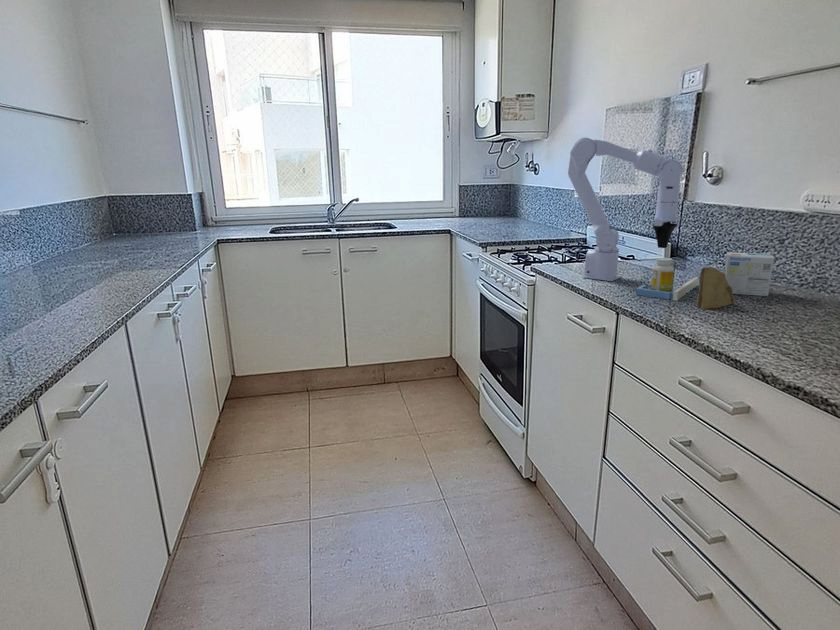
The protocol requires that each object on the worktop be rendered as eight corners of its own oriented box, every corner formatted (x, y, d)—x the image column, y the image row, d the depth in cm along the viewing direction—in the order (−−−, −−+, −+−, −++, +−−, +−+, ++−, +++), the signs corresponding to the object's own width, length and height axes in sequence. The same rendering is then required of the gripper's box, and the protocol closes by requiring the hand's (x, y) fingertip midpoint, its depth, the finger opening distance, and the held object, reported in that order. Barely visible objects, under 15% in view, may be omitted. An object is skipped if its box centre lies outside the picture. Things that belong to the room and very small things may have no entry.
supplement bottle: (647, 292, 144) (650, 259, 141) (656, 289, 147) (659, 256, 145) (666, 295, 140) (669, 261, 137) (675, 291, 143) (678, 258, 141)
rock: (730, 291, 134) (690, 285, 136) (746, 270, 127) (703, 264, 129) (734, 324, 128) (693, 317, 130) (751, 304, 121) (706, 297, 123)
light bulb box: (764, 291, 142) (771, 253, 139) (768, 296, 136) (775, 257, 133) (720, 288, 147) (726, 251, 143) (723, 293, 141) (728, 255, 138)
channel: (633, 294, 142) (634, 286, 141) (657, 280, 157) (658, 273, 156) (676, 300, 135) (677, 291, 134) (697, 285, 150) (698, 277, 149)
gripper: (674, 204, 142) (669, 252, 146) (688, 200, 152) (683, 245, 156) (648, 203, 147) (643, 250, 150) (664, 199, 157) (659, 243, 161)
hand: (662, 247), depth 154 cm, fingers closed
